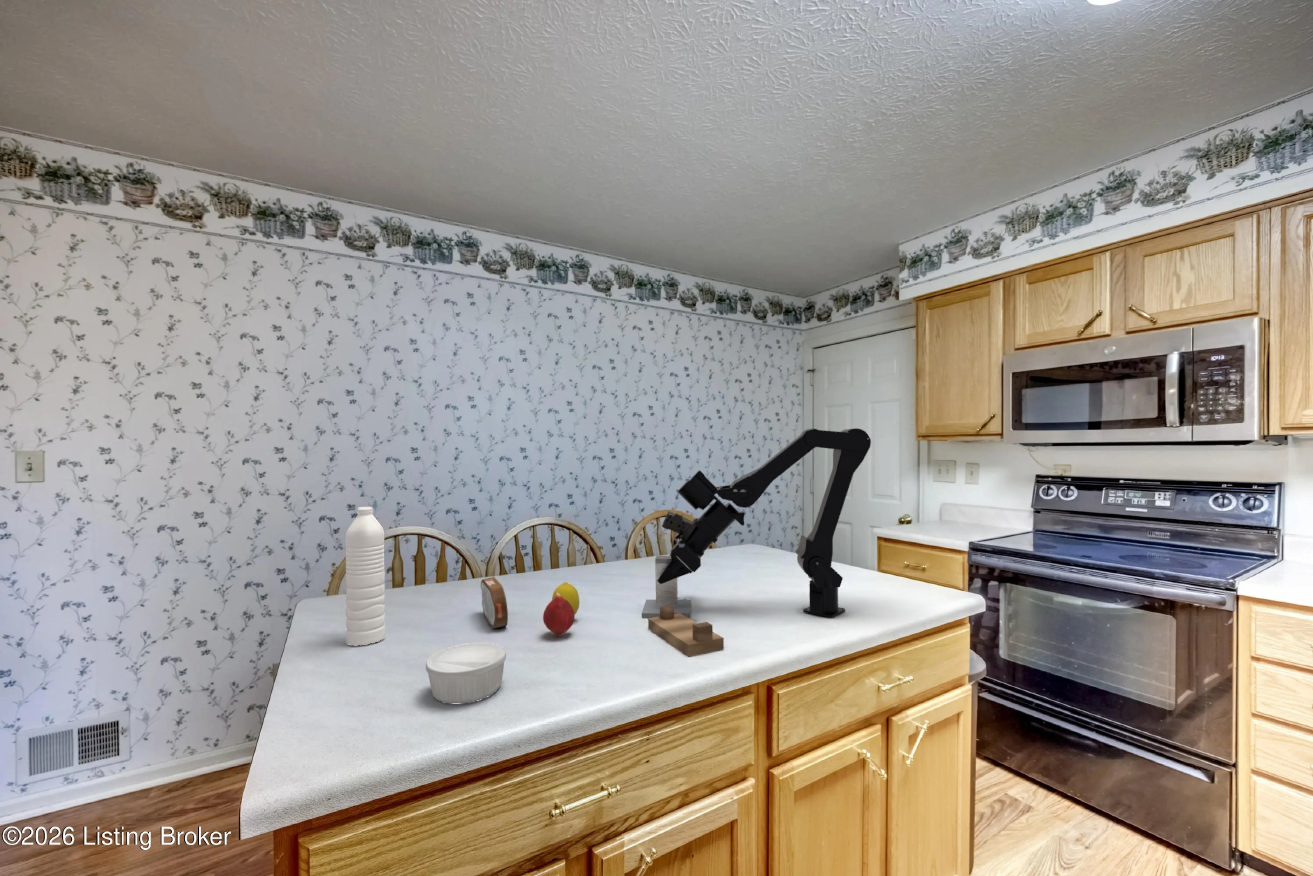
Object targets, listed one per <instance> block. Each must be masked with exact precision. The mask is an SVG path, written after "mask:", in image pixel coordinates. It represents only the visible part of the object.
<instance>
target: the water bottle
mask: <svg viewBox="0 0 1313 876" xmlns="http://www.w3.org/2000/svg"><path fill="white" fill-rule="evenodd" d="M373 509H374V508H373V507H372V506H359V507H357V512H356V513H357V515H356V516H355V518H354V519H353V521H352V522H351V524H350V525H349V526H348V529H346V532H345V537H344V539H345V555H346V556H345V573H346V574H345V586H346V589H345V598H346V599H345V604H346V607H345V617H346V620H345V627H346V631H345V634H346V635H345V636H346V637H345V640H346V641H345V642H346V644H347V643H348V644H351V645H350V646H352V645H360V646H361V645H365V644H370V643H372V644H373V643H375V642H378V641H380V640H381V641H383V640H384V639H385V638H386V614H385V613H386V605H385V604H386V594H385V593H386V584H385V581H386V580H385V579H386V575H385V568H386V567H385V530H384V528H383V526H382V525H381V524H380V522H379V521H378V520H377V518H376V517H375V515H373V513H374V510H373ZM382 639H383V640H382ZM381 641H380V642H381ZM378 643H379V642H378ZM348 644H347V645H348ZM375 644H376V643H375ZM370 645H371V644H370Z"/></svg>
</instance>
